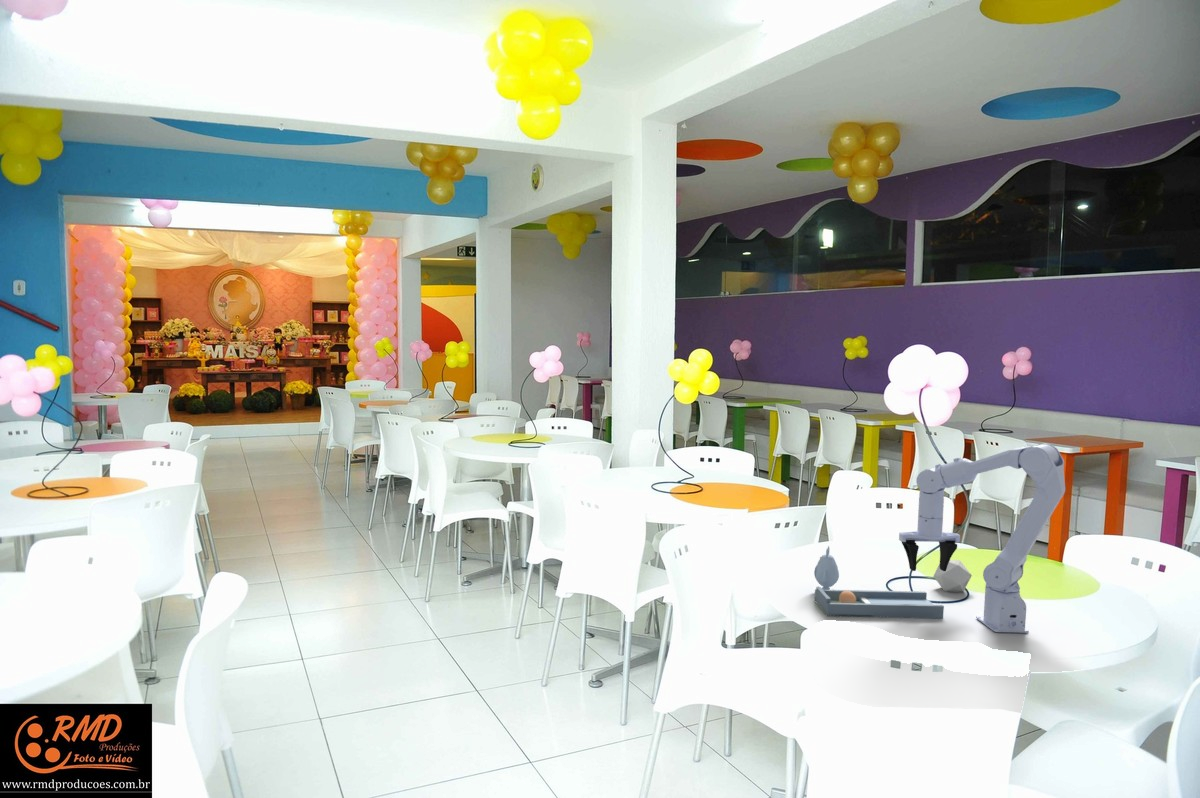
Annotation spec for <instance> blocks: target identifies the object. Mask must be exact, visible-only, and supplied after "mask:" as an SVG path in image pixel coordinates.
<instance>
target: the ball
mask: <svg viewBox="0 0 1200 798" xmlns="http://www.w3.org/2000/svg"><path fill="white" fill-rule="evenodd" d="M839 601H840V603H855V602H856V597H855V595H854V594H853V593H852V592H850V591H843V592H842V593H841V594H840V596H839Z"/></svg>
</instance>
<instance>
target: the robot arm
mask: <svg viewBox="0 0 1200 798" xmlns="http://www.w3.org/2000/svg"><path fill="white" fill-rule="evenodd" d="M1005 467H1011V468H1013V469H1017V470H1020V469H1022V470H1023V471H1024V472H1025V473H1026V474H1027V476H1028V477H1030V479H1032V482H1033V483H1034V486H1035V488H1036V490H1037V491H1036V493H1035V495H1034V496H1033V499H1031V502H1030V504H1029V505H1028V507H1027V509H1026V510H1025V512H1023V513H1024V514H1023V515H1022V517H1021V518H1020V520H1019V522H1018V524H1017V526H1016V527H1015V529H1014V531H1013V533H1011V536H1010V537H1009V539H1008V541H1007V543H1006V544H1005V546H1004V547H1003V548H1002V550H1001V551H1000V552H999V554H998V555H997V556H996V558H995V559H994V561H993V562H991V563H989V564H988V565H986V566H985V568H983V573H982V577H983V580H984V582H985V587H984V589H985V591H984V601H983V602H984V605H983V615H976V616H975V618H976V619H977V620H978V621H980V623H982V624H984V625H985V626H986V627H987V628H989V629H990V630H992V631H993V632H995V633H1022V634H1023V633H1024V634H1028V633H1029V632H1030V631H1029V629H1027V628H1026V619H1027V603H1026V602H1025V601H1024V600H1025V599H1023V598H1022V596H1021V594H1020V593H1021V590H1020V589H1021V587H1020V585H1019V581H1020V580H1021V579H1022V577H1023V574H1024V565H1025V564H1026V562H1027V560H1028V558H1027V557H1028V555H1029V554H1030V551H1031V550H1032V548H1033V546H1034V545H1035V544H1036V541H1037V540H1038V538H1039V536H1040V535H1041V534H1042V531H1043V530H1044V528H1045V527H1046V525H1047V523H1048V521H1049V520H1050V518H1051V516H1052V515H1053V513H1054V511H1055V510H1056V508H1057V506H1058V505H1059V503H1060V501H1061V499H1062V498H1063V496H1064V495H1065V493H1066V481H1065V480H1066V479H1065V473H1064V471H1065V469H1064V468H1065V460H1064V458H1063V456H1062V455H1061V453H1060V451H1059V449H1058V448H1057V447H1056V446H1054V445H1053V444H1051V443H1039V444H1037V445H1035V446H1033V445H1029V446H1028V445H1027V446H1022V447H1015V448H1011V449H1008V450H1005V451H1004V450H1003V451H1002V452H998V453H995V454H992V455H989V456H986V457H982V458H980V459H976V460H974V461H973V460H970V459H968V458H965V457H964V458H961V457H956V458H953V461H951V462H948V463H944V464H941V463H938V464H935V465H934V467H932V468H926V469H924V470H922V471H920V472H919V473H918V474H917V477H916V480H915V481H916V485H917V487H918V489H919V494H918V495H919V496H918V497H919V498H918V509H917V510H918V514H917V530H916V531H906V532H899V534H898V540H899V541H900V543H901V544H902V547H903V548H904V551H905V553H906V556H907V560H908V566H909V570H911V571H912V572H916V571H917V558H918V557H917V556H918V553H919V548H920V546H919V545H918V544H917V542H928V543H929V542H930V543H932V542H933V543H934V542H935V543H936V542H937V543H938V545H939V564H940V569H941V570H942V571H946V569H947V566H948V563H949V561H950V560H951V558H952V557H953V555H954V553H955V552H956V550H957V549H958V543H960V542H961V541H960V540H961V535H960V534H958V533H957V532H956V533H955V532H943V525H944V504H945V502H944V501H945V498H944V497H945V489H950V488H953V487H956V486H960V485H964V484H967V483H970V482H971V483H972V482H974V481H975V479H976V478H977V476H978V474H982V473H985V472H989V471H993V470H994V471H995V470H997V469H1002V468H1005Z"/></svg>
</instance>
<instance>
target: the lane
mask: <svg viewBox="0 0 1200 798" xmlns="http://www.w3.org/2000/svg"><path fill="white" fill-rule="evenodd" d="M843 591H850V592H852V593H853V594H854V595H855V597H856V602H855V603H840V601H839V596H840V594H841V593H842V592H843ZM927 594H928V593H927V592H926V591H921V590H920V591H915V590H914V591H913V590H912V591H910V590H909V591H907V590H905V591H904V590H869V589H868V590H866V589H865V590H863V589H861V590H860V589H859V590H858V589H857V590H856V589H830V590H823V589H822V587H821V586H816V587H815V589H814V602H815V601H816V602H817V603H816V602H815V603H816V605H817V604H818V605H819V606H818V605H817V606H818V607H819V608H820V610H821V611H822V612H823V613H824V615H825V616H826V615H827V616H826V617H840V616H841V618H842V617H843V618H844V617H846V618H848V617H850V618H851V617H852V618H858V617H859V618H895V619H896V618H899V619H902V618H903V619H904V618H905V619H907V618H908V619H909V618H910V619H944V612H945V611H944V610H945V606H944V605H943V604H934V603H933V602H931V601H930V600H929V599H928V598H927ZM911 617H913V618H911Z"/></svg>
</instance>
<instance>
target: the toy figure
mask: <svg viewBox="0 0 1200 798" xmlns="http://www.w3.org/2000/svg"><path fill="white" fill-rule="evenodd" d="M813 574H814V578H815V580H816V581H817V583H818V584H819V586H820V587H821V586H822V587H821V588H822V589H823V590H831V589H830V588H831V587H833V586H834V585H835V584H836V583H837V582H838V581H839V577H840V573H839V567H838V564H837V562H836V559H835V557H834V556H833V555H831V554H830V546H829V545H828V546H827V548H826V551H825V554H823V555H821V556H820V557H819V560H818V562H817V564H816V566H815V567H814V573H813Z"/></svg>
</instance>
